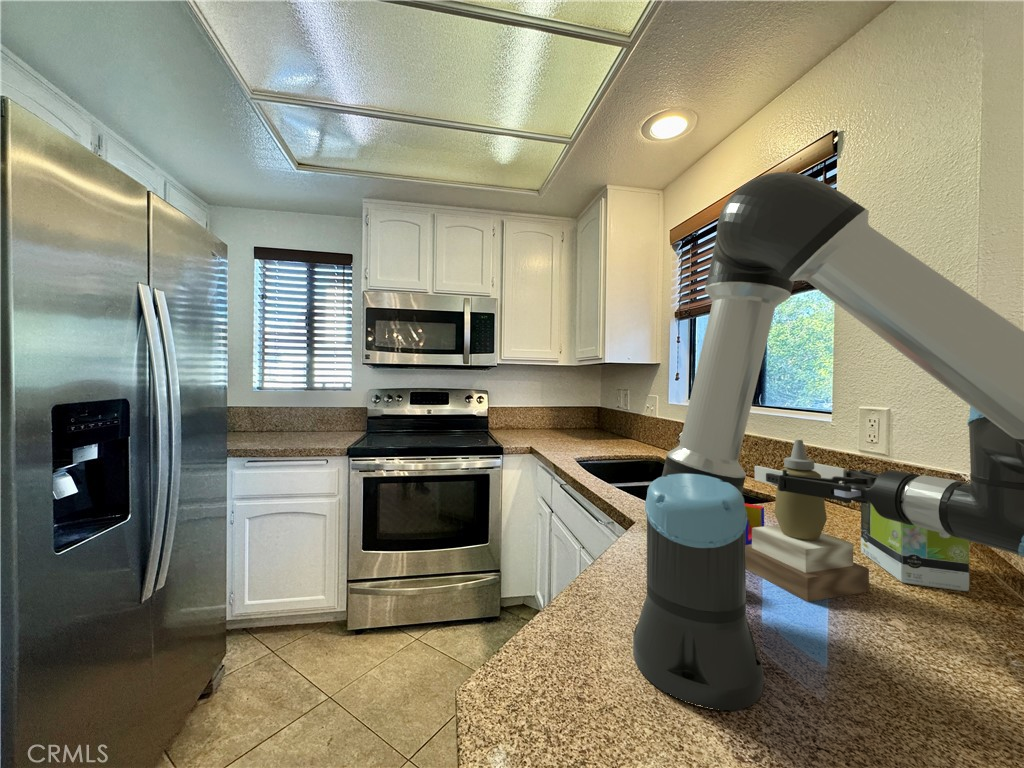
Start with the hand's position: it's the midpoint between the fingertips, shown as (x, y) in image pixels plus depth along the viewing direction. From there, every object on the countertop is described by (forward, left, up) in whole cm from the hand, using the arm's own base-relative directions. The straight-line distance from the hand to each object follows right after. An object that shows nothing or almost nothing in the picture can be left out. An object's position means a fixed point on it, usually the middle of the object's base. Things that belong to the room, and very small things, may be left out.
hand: (783, 470), depth 78 cm
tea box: (+24, -6, -20) cm, 32 cm away
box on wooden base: (0, -3, -19) cm, 20 cm away
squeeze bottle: (0, -3, -12) cm, 12 cm away
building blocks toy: (-1, +20, -20) cm, 28 cm away
